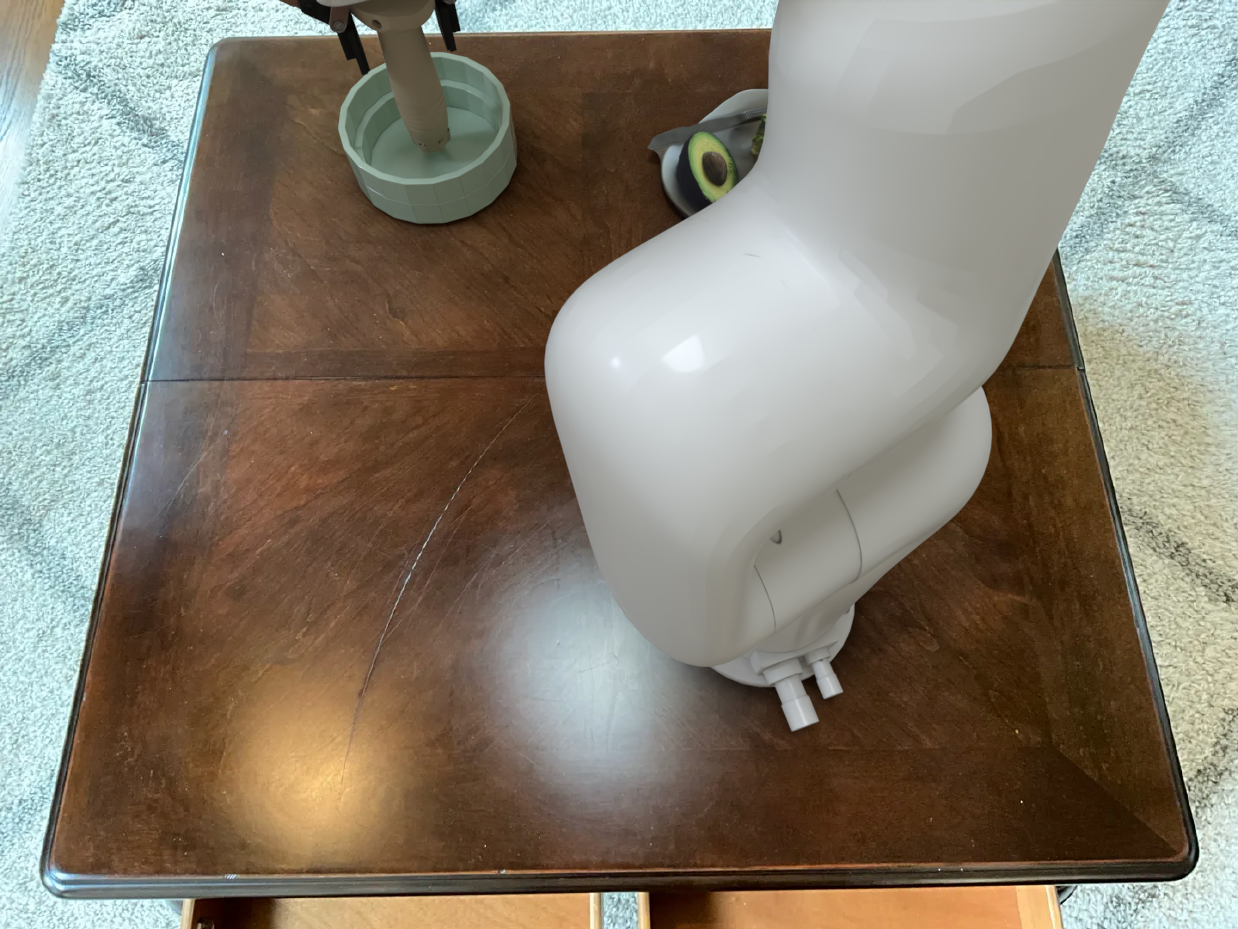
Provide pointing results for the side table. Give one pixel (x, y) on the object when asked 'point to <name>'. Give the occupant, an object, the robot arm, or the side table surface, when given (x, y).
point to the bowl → (439, 178)
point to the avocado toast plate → (712, 152)
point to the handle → (410, 67)
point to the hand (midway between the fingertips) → (405, 48)
